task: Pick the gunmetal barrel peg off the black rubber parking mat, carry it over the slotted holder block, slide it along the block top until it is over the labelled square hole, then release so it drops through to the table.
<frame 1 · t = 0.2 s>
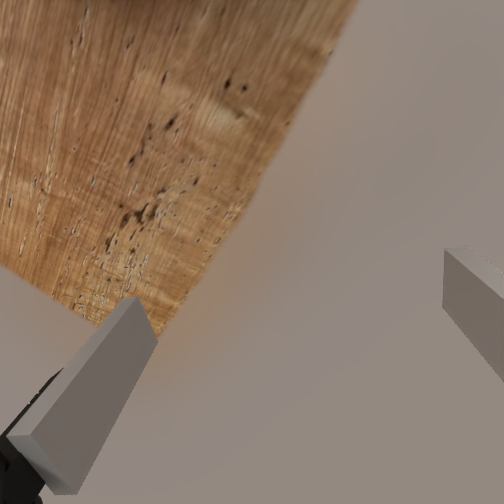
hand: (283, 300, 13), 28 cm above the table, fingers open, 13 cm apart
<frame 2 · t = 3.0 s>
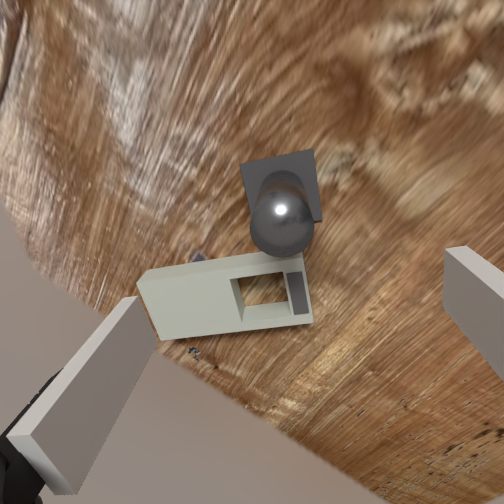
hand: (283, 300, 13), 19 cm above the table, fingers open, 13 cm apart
slotted holder block: (229, 288, 35), on the table
parking mat: (282, 192, 30), on the table
barrel peg: (282, 193, 30), resting on parking mat
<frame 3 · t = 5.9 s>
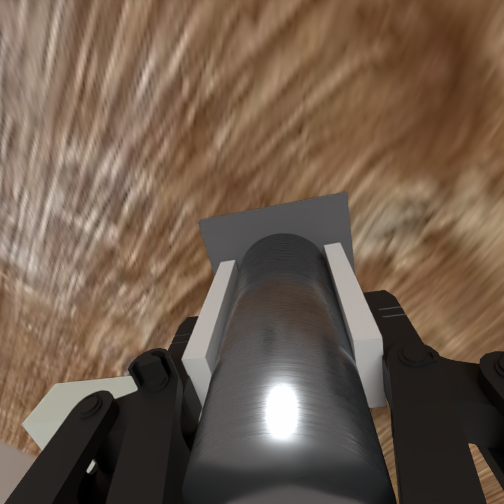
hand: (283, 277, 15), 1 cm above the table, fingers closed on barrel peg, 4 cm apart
slotted holder block: (194, 413, 21), on the table
parking mat: (282, 270, 16), on the table
barrel peg: (283, 273, 15), resting on parking mat, touching gripper
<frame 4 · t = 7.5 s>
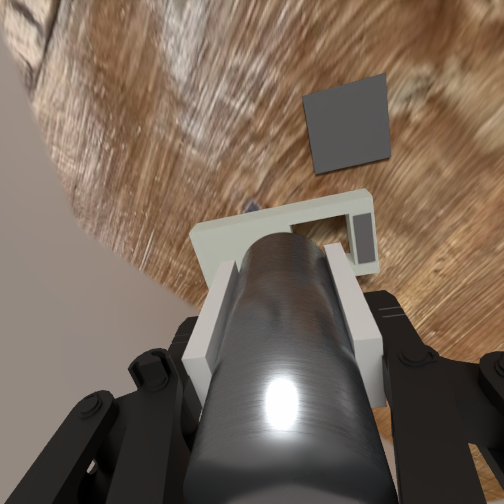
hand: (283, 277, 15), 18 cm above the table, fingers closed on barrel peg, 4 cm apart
slotted holder block: (283, 241, 33), on the table
parking mat: (347, 127, 28), on the table
barrel peg: (283, 272, 15), point 17 cm above the table, touching gripper
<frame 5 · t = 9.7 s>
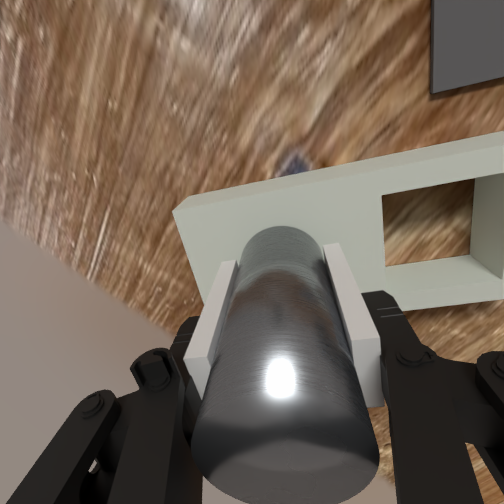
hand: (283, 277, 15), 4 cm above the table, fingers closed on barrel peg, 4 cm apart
slotted holder block: (348, 231, 18), on the table
barrel peg: (281, 264, 16), point 3 cm above the table, touching gripper
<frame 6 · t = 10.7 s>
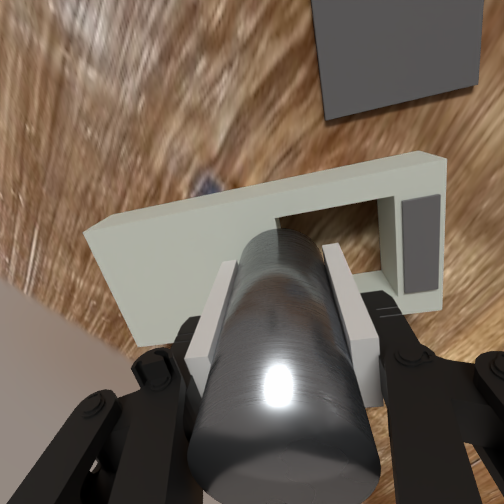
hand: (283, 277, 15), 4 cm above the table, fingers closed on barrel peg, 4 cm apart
slotted holder block: (265, 248, 19), on the table
parking mat: (394, 18, 14), on the table
barrel peg: (280, 267, 16), point 3 cm above the table, touching gripper, slotted holder block
when the fingers open (4 cm above the table, at t = 12.0 s): barrel peg drops 2 cm, resting in slotted holder block.
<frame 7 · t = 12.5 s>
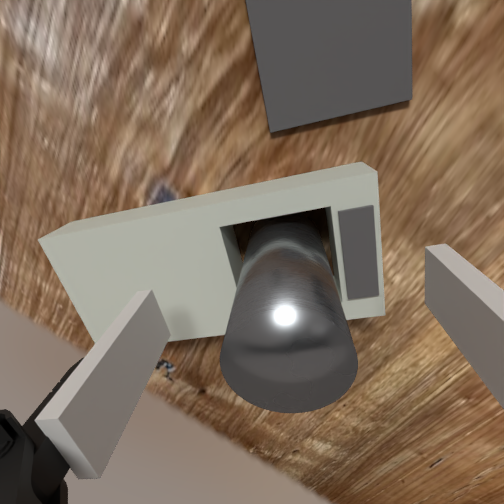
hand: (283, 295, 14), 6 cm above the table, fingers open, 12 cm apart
slotted holder block: (221, 254, 19), on the table
parking mat: (329, 36, 14), on the table
barrel peg: (284, 243, 19), resting in slotted holder block
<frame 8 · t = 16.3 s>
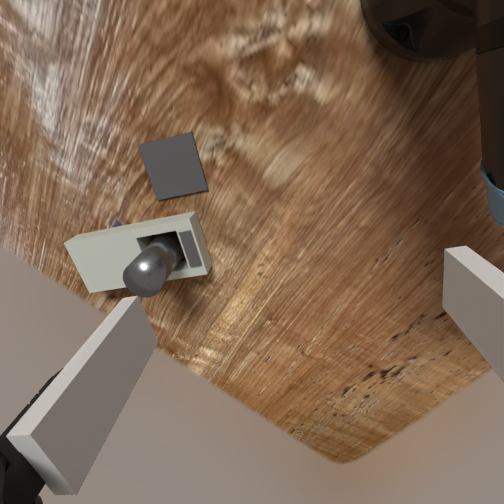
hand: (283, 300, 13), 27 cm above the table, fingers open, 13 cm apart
slotted holder block: (144, 249, 43), on the table
parking mat: (174, 167, 38), on the table
barrel peg: (171, 244, 43), resting in slotted holder block
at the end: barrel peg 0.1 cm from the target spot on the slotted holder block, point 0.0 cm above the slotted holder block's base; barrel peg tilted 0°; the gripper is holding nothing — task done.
